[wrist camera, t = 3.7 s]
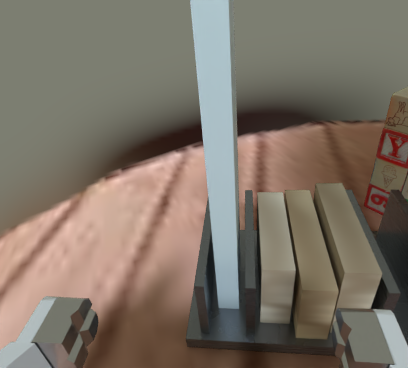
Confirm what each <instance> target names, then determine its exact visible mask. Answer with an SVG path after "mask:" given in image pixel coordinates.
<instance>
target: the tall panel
mask: <svg viewBox="0 0 408 368" xmlns="http://www.w3.org/2000/svg"><path fill="white" fill-rule="evenodd" d="M190 3H191V13H192V25H193V36H194V46H195V56H196V67H197V79H198V88H199V100H200V111H201V122H202V133H203V143H204V154H205V165H206V176H207V186H208V197H209V208H210V219H211V230H212V240H213V251H214V262H215V273H216V283H217V294H218V305H219V308H230V309H239V286H240V225H239V188H238V150H237V113H236V75H235V38H234V2H233V0H190Z"/></svg>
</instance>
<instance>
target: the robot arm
mask: <svg viewBox="0 0 408 368" xmlns="http://www.w3.org/2000/svg"><path fill="white" fill-rule="evenodd" d="M91 306H92V303H91V301H90V300H89V298H68V297H49V296H46V297H44V298H43V299H42V300H41V301H40V303H39V304H38V306H37V308H36V309H35V311H34V313H33V314H32V316H31V317H30V319H29V321H28V322H27V324H26V326H25V327H24V329H23V330H22V332H21V334H20V335H19V337H18V339H17V340H16V342H10V343H9V344H8V345H7V346H5V347H4V348H3V349H1V350H0V368H83V365H84V363H85V360H86V358H87V356H88V350H87V346H88V345H89V344H90V343H91V342H92V341H93V340H94V338H95V335H96V333H97V328H98V316H97V314H96V312H95V311H93V310H92V309H90V308H91ZM335 316H336V320H337V321H335V322H334V323H333V325H332V343H333V348H334V353H335V355H336V356H337V357H338V358H339V359H340V360H341V361H340V365H339V368H408V345H407V343H406V340H405V338H404V336H403V334H402V331H401V329H400V327H399V324H398V322H397V320H396V317H395V315H394V313H393V312H392V311H391V310H386V309H365V308H338V309H336V313H335Z"/></svg>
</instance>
